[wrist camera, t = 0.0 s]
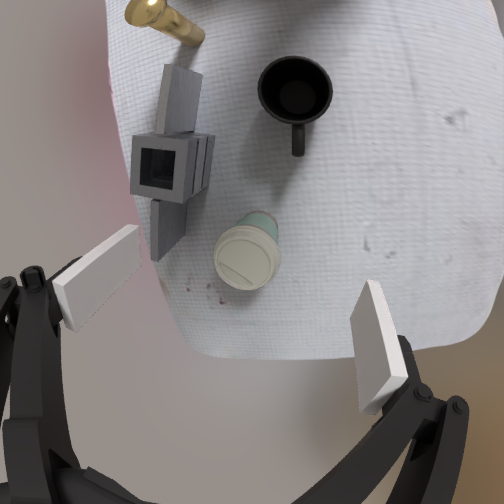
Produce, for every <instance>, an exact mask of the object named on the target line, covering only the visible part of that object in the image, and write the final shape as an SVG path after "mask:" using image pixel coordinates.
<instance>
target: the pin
mask: <svg viewBox="0 0 504 504" xmlns="http://www.w3.org/2000/svg"><path fill="white" fill-rule="evenodd" d="M125 20H126V21H127V22H128V23H129V24H131V25H133V26H136V27H140V28H142V27H147V26H149V27H152V28H154V29H156V30H158V31H160V32H162V33H164V34H166V35H168V36H170V37H172V38H174V39H176V40H178V41H180V42H182V43H184V44H186V45H188V46H197V45H199V44H200V43H201V42H202V41H203V40H204V38H205V33H204V31H203V30H202V29H201V28H200V27H198V26H197V25H196V24H194V23H193V22H192V21H190V20H189V19H187V18H186V17H185V16H183V15H182V14H180V13H179V12H178V11H176V10H175V9H173V8H172V7H170V6H169V5H167V0H131V1H130V2H129V4H128V5H127V7H126V10H125Z"/></svg>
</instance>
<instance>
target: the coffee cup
mask: <svg viewBox="0 0 504 504" xmlns="http://www.w3.org/2000/svg"><path fill="white" fill-rule="evenodd" d="M213 258H214V266H215V269H216V271H217V273H218V275H219V276H220V278H221V279H222V280H223V281H224V282H225V283H227V284H228V285H230V286H232V287H234V288H236V289H240V290H255V289H258V288H260V287H262V286H264V285H265V284H267V283H268V282H269V281H271V280H272V279H273V277H274V276H275V274H276V273H277V271H278V269H279V266H280V252H279V249H278V227H277V223H276V221H275V219H274V218H273V217H272V216H271V215H270V214H268V213H266V212H263V211H254V212H251V213H249V214H248V215H246V216H245V217H244V218H243V219H242V220H241V221H239V222H238V223H237V224H236V225H235V226H234V227H232V228H230V229H228V230H226V231H225V232H224V233H223V234H221V236H220V237H219V238H218V240H217V242H216V244H215V247H214V252H213Z"/></svg>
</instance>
